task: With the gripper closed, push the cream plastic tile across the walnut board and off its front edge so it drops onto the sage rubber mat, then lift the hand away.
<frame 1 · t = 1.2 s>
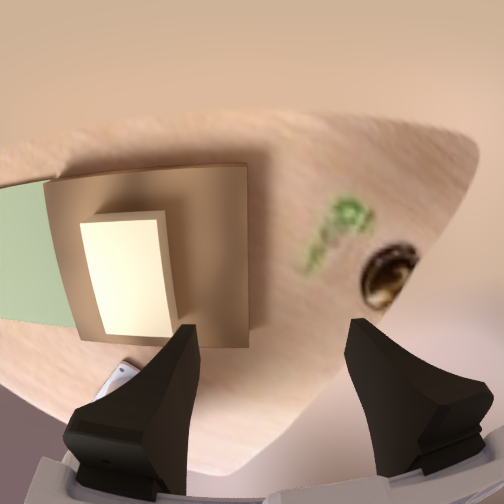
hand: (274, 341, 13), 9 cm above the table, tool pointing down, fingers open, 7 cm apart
mat: (10, 259, 21), on the table
board: (150, 258, 21), on the table
tile: (131, 276, 19), point 3 cm above the table, touching board
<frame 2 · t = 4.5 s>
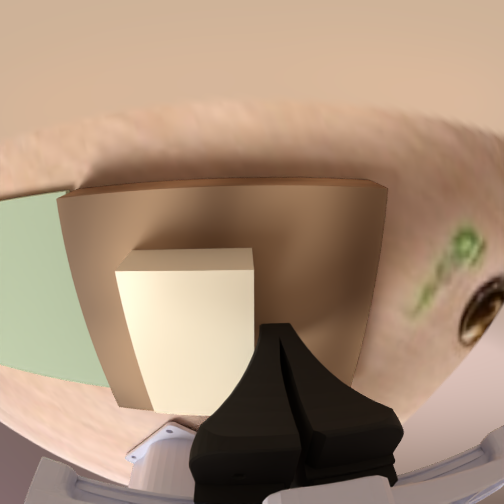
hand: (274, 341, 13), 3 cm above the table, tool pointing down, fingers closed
mat: (10, 298, 15), on the table
board: (223, 306, 16), on the table
tile: (195, 343, 13), point 3 cm above the table, touching board, gripper
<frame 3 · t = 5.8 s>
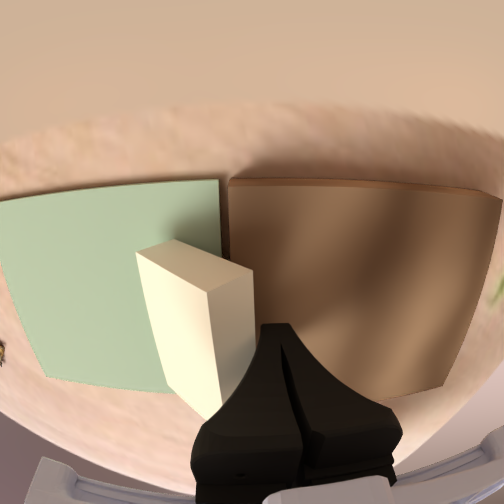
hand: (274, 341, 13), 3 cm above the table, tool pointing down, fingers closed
mat: (101, 305, 15), on the table
board: (364, 301, 16), on the table
tile: (199, 343, 13), point 3 cm above the table, tilted 46°, touching gripper
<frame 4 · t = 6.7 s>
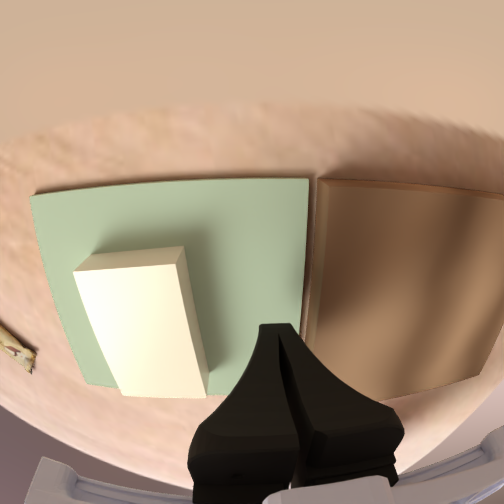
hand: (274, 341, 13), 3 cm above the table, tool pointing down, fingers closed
mat: (165, 306, 16), on the table
board: (421, 296, 16), on the table
tile: (147, 331, 14), point 1 cm above the table, tilted 180°, touching mat
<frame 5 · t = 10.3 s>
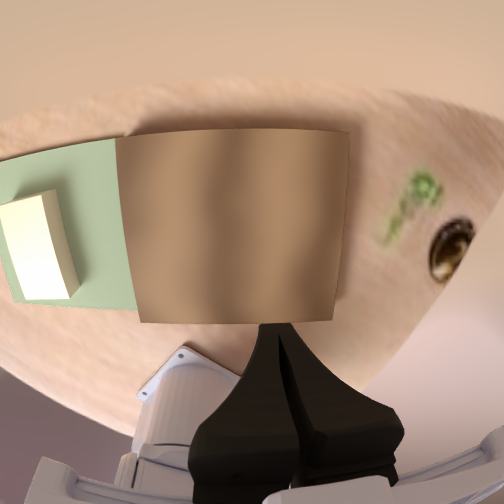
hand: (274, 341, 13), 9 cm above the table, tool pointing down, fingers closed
mat: (51, 233, 20), on the table
board: (233, 226, 21), on the table
tile: (37, 247, 19), point 1 cm above the table, tilted 180°, touching mat
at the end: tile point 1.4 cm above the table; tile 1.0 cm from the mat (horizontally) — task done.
